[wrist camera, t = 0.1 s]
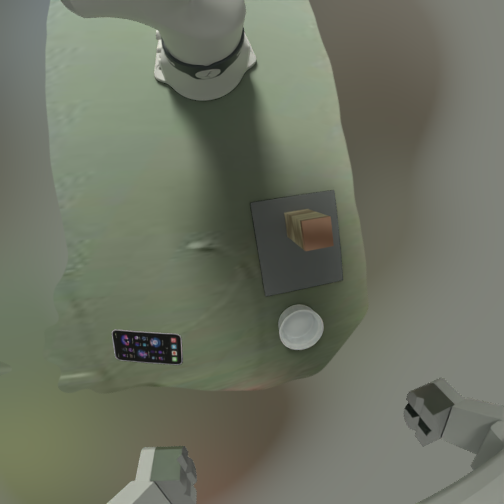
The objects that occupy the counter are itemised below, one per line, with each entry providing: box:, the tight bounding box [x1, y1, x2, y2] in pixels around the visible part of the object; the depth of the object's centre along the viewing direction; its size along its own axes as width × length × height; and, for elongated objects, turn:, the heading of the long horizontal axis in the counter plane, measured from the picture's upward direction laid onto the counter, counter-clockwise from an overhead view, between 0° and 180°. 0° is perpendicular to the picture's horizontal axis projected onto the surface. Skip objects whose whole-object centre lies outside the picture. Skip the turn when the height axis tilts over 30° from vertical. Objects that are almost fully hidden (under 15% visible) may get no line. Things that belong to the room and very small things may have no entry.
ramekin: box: [278, 304, 324, 350], centre depth 59 cm, size 9×9×4 cm
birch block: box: [284, 209, 334, 251], centre depth 50 cm, size 4×4×12 cm
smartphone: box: [112, 330, 183, 365], centre depth 59 cm, size 8×1×15 cm
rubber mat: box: [250, 190, 343, 296], centre depth 57 cm, size 18×16×1 cm
